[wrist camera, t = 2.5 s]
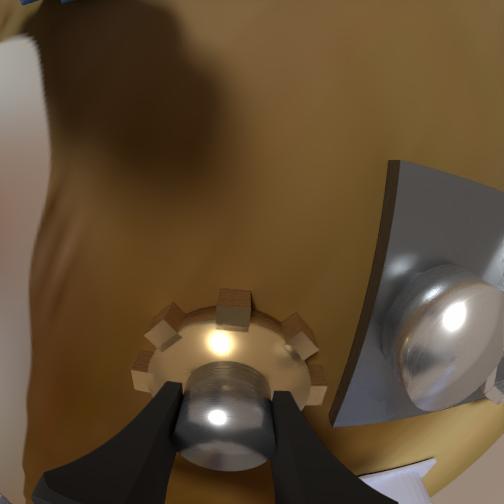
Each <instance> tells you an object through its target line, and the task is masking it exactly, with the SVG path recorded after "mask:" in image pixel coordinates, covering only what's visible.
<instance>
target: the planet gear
mask: <svg viewBox="0 0 504 504" xmlns="http://www.w3.org/2000/svg"><path fill="white" fill-rule="evenodd" d="M144 336H145V337H146V338H147V339H148V340H149V341H150V342H152V343H153V344H154V345H155V346H156V349H155V351H154V353H152V352H146V351H141V352H140V354H139V356H138V358H137V359H136V361H135V363H134V365H133V367H132V369H131V372H132V378H133V383H134V388H135V390H140V391H145V392H150V393H151V395H152V397H154V396H155V395H156V394H157V392H158V391H159V390H160V389H161V387H162V386H163V384H164V383H165V382H166V381H172V382H179V383H182V387H183V397H182V401H181V405H180V409H179V413H178V417H177V421H176V425H175V429H174V433H173V437H172V441H173V445H174V447H175V449H176V450H177V452H178V453H179V454H180V455H181V456H183V457H184V458H185V459H187V460H188V461H190V462H192V463H194V464H196V465H198V466H201V467H204V468H208V469H212V470H218V471H241V470H247V469H251V468H254V467H257V466H259V465H261V464H263V463H265V462H266V461H268V460H269V459H270V458H271V457H272V455H273V454H274V452H275V449H276V443H275V432H274V422H273V411H272V398H273V393H274V391H290V392H291V394H292V396H293V398H294V400H295V402H296V403H297V405H298V407H299V409H300V410H301V411H302V410H303V408H304V406H305V405H322V402H323V399H324V396H325V393H326V390H327V387H328V386H327V383H326V380H325V377H324V374H323V371H322V368H321V366H307V363H306V359H307V358H308V357H310V356H311V355H313V354H314V353H316V352H317V351H318V350H319V348H318V345H317V342H316V340H315V337H314V334H313V332H312V330H311V329H310V328H309V326H308V325H307V324H306V323H305V322H304V321H303V320H302V319H301V317H300V316H299V315H298V314H297V313H294V314H293V315H292V316H290V317H289V318H287V319H286V320H285V321H283V322H282V323H281V322H280V321H278V320H277V319H275V318H273V317H271V316H269V315H268V314H265V313H263V312H260V311H257V310H254V309H251V291H242V290H230V289H220V293H219V297H218V301H217V306H211V307H206V308H201V309H198V310H195V311H192V312H190V313H188V314H186V315H185V314H184V313H183V312H182V311H181V310H180V309H179V308H178V307H177V306H176V305H175V304H174V303H173V302H172V303H171V304H170V305H169V306H167V307H166V308H165V309H164V310H163V311H161V312H160V313H159V314H158V315H157V316H155V317H154V319H153V321H152V322H151V324H150V326H149V328H148V329H147V331H146V333H145V335H144Z"/></svg>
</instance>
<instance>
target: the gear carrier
mask: <svg viewBox="0 0 504 504" xmlns="http://www.w3.org/2000/svg"><path fill="white" fill-rule="evenodd" d="M484 397H487V398H489V399H490V400H491V401H492V402H494V403H495V404H497V405H498V404H500V403H502V402H504V192H502V191H499V190H496V189H494V188H491V187H488V186H486V185H483V184H480V183H477V182H474V181H471V180H468V179H465V178H462V177H459V176H456V175H453V174H449V173H446V172H443V171H439V170H436V169H433V168H429V167H425V166H422V165H418V164H414V163H410V162H406V161H402V160H389V161H388V171H387V180H386V188H385V196H384V203H383V210H382V217H381V223H380V229H379V235H378V240H377V246H376V251H375V256H374V261H373V266H372V271H371V275H370V280H369V284H368V289H367V293H366V297H365V301H364V305H363V309H362V313H361V317H360V320H359V324H358V328H357V331H356V335H355V338H354V342H353V345H352V348H351V352H350V355H349V358H348V361H347V364H346V368H345V371H344V374H343V377H342V380H341V383H340V385H339V388H338V391H337V394H336V397H335V399H334V402H333V405H332V408H331V410H330V413H329V417H330V421H331V424H332V427H345V426H355V425H364V424H372V423H379V422H385V421H392V420H398V419H403V418H408V417H413V416H418V415H423V414H427V413H432V412H436V411H440V410H444V409H448V408H452V407H455V406H459V405H462V404H465V403H469V402H472V401H475V400H478V399H481V398H484Z"/></svg>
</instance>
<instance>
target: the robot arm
mask: <svg viewBox="0 0 504 504" xmlns="http://www.w3.org/2000/svg"><path fill="white" fill-rule="evenodd" d="M182 397H183V387H182V383H179V382H172V381H166V382H165V383H164V384H163V386H162V387H161V389H160V390H159V391H158V392H157V394H156V395H155V396H154V397H153V399H152V400H151V401H150V402H149V403H148V404H147V405H146V407H145V408H144V409H143V410H142V411H141V412H140V413H139V414H138V415H137V416H136V417H135V418H134V419H133V420H132V421H131V422H130V423H129V424H128V425H127V426H126V427H125V428H124V429H122V430H121V431H120V432H119V433H118V434H116V435H115V436H114V437H113V438H111V439H110V440H109V441H107V442H106V443H104V444H103V445H101V446H100V447H98V448H97V449H95V450H94V451H92V452H90V453H89V454H87V455H85V456H83V457H81V458H79V459H77V460H75V461H73V462H71V463H68V464H66V465H64V466H61V467H58V468H55V469H53V470H50V471H47V472H44V474H43V475H42V476H41V478H40V479H39V481H38V483H37V485H36V487H35V489H34V491H33V493H32V495H31V498H32V500H33V502H34V503H35V504H165V497H166V491H167V485H168V480H169V476H170V473H171V469H172V466H173V463H174V459H175V456H176V453H177V450H176V449H175V447H174V445H173V441H172V437H173V433H174V429H175V425H176V421H177V417H178V413H179V409H180V405H181V401H182ZM272 411H273V422H274V432H275V443H276V449H275V452H274V454H273V455H272V457H271V458H270V461H271V467H272V474H273V480H274V488H275V504H433V503H432V501H431V499H430V496H429V494H428V492H427V490H426V487H425V485H424V483H423V481H422V478H423V476H424V475H425V474H426V473H427V472H428V471H429V470H430V469H431V468H432V466H433V465H434V464H435V463H436V459H435V458H432V459H429V460H426V461H422V462H419V463H416V464H412V465H408V466H405V467H401V468H397V469H393V470H388V471H384V472H379V473H374V474H369V475H364V476H360V477H357V476H356V475H355V474H353V473H352V472H351V471H349V470H348V469H347V468H346V467H345V466H344V465H343V464H342V463H341V462H340V461H339V460H338V459H337V458H336V457H335V456H334V455H333V454H332V453H331V452H330V451H329V450H328V448H327V447H326V446H325V445H324V444H323V442H322V441H321V440H320V439H319V437H318V436H317V435H316V433H315V432H314V431H313V429H312V428H311V426H310V425H309V423H308V422H307V420H306V419H305V417H304V416H303V414H302V412H301V410H300V409H299V407H298V405H297V403H296V402H295V400H294V398H293V396H292V394H291V392H290V391H274V393H273V398H272ZM0 504H12V503H10V502H9V501H8V500H7V499H6V498H5V497H4V496H3V495H2V494H1V493H0Z"/></svg>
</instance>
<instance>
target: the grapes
mask: <svg viewBox="0 0 504 504" xmlns="http://www.w3.org/2000/svg"><path fill="white" fill-rule="evenodd" d="M20 1H21V3H22V5H26V4H29V3H32V2H35V1H38V0H20ZM70 1H74V0H61V2H62V3H66V2H70Z"/></svg>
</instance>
